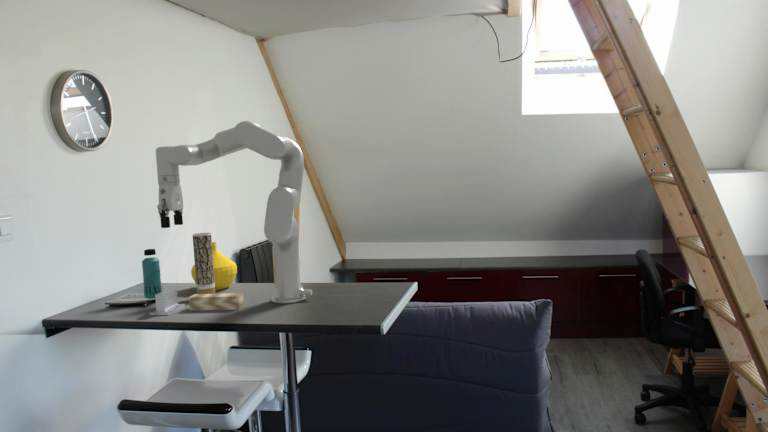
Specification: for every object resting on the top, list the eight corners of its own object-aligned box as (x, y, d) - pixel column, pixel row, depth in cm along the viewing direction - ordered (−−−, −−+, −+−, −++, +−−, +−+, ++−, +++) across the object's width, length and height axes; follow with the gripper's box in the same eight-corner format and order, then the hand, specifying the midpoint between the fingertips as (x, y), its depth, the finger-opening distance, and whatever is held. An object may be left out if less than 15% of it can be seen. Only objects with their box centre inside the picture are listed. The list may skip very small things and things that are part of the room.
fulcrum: (184, 306, 213) (183, 287, 213) (168, 315, 201) (167, 295, 201) (166, 306, 214) (165, 287, 214) (149, 315, 202) (148, 295, 202)
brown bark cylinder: (210, 300, 222) (205, 234, 220) (194, 300, 223) (189, 235, 221) (218, 296, 228) (214, 232, 226) (202, 296, 230) (198, 232, 228)
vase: (182, 292, 239) (179, 245, 238) (212, 282, 256) (209, 239, 254) (219, 294, 232) (216, 246, 230) (247, 284, 249) (244, 239, 247)
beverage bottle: (143, 303, 221) (139, 251, 220) (145, 299, 228) (141, 248, 226) (161, 301, 223) (157, 249, 221) (163, 298, 229) (159, 247, 228)
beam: (243, 306, 210) (243, 293, 210) (239, 310, 205) (238, 296, 205) (195, 307, 212) (194, 294, 212) (189, 311, 207) (188, 297, 207)
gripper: (166, 180, 207) (170, 228, 209) (189, 178, 224) (192, 223, 226) (146, 181, 208) (150, 229, 210) (170, 179, 225) (174, 223, 227)
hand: (172, 226), depth 218 cm, fingers open, 9 cm apart
